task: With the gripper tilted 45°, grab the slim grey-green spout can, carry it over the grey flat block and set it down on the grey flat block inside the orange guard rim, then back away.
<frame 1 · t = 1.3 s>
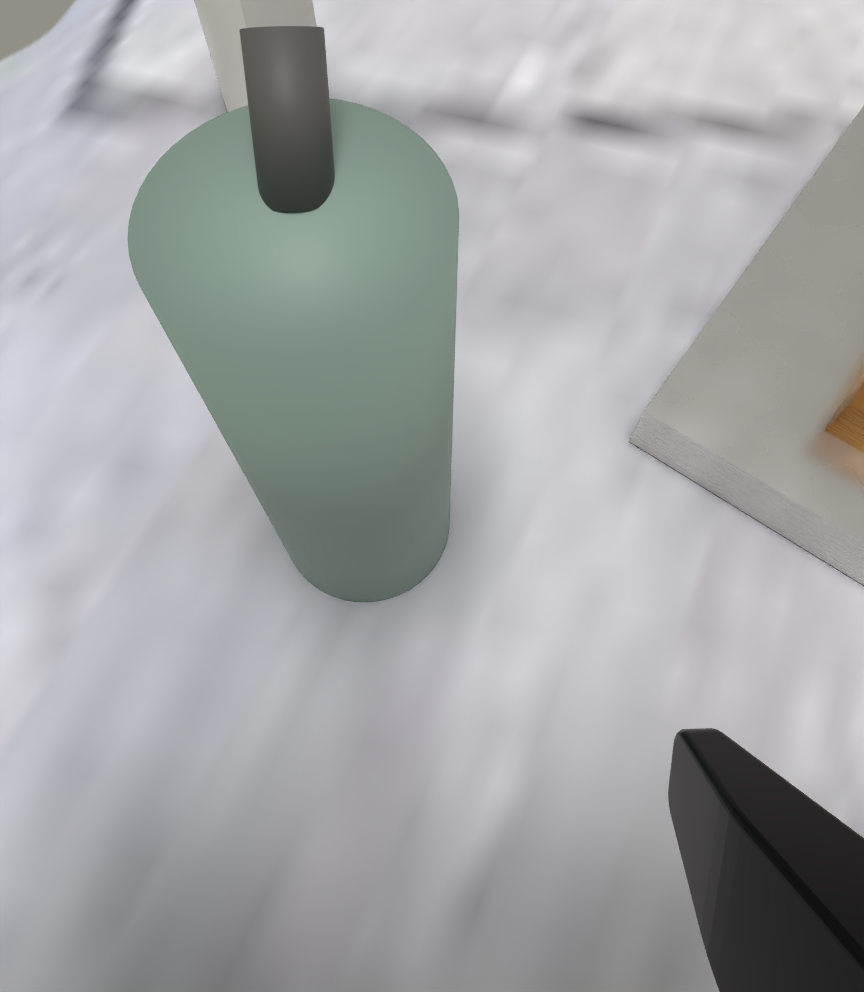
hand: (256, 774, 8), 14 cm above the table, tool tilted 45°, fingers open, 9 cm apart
eye dropper bottle: (279, 122, 31), on the table
spout can: (367, 521, 24), on the table
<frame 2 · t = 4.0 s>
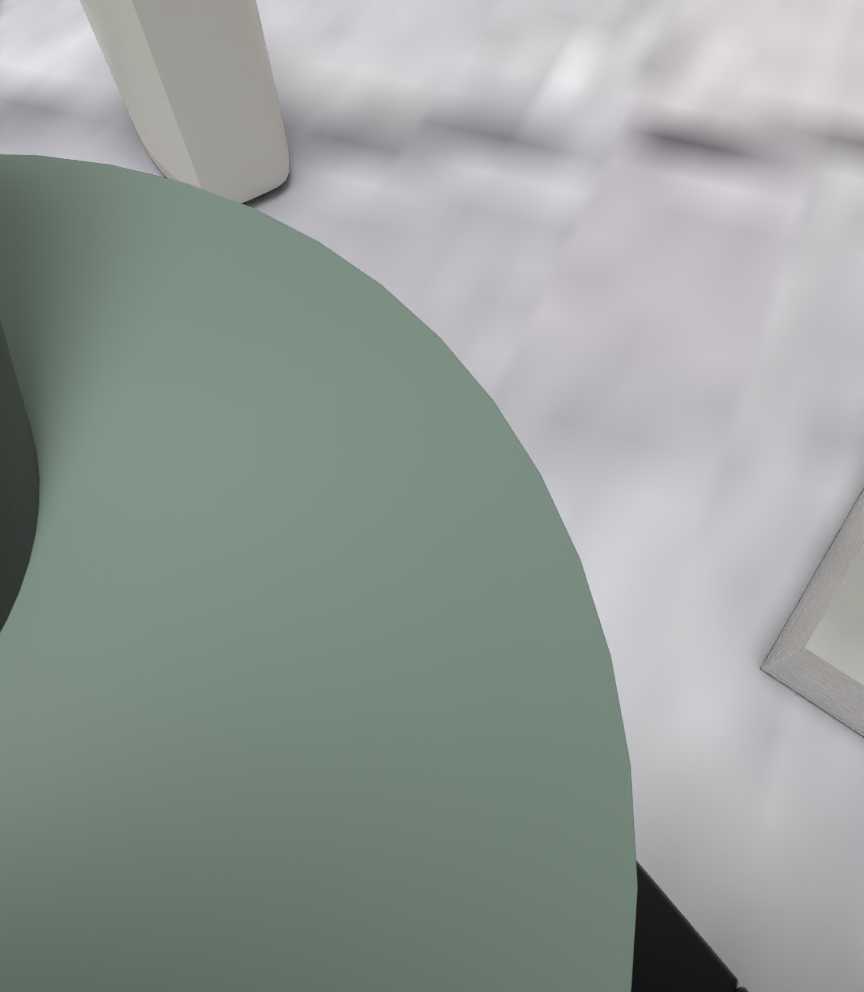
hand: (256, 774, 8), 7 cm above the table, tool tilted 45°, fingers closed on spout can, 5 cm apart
eye dropper bottle: (213, 141, 21), on the table
spout can: (332, 817, 14), on the table, touching gripper
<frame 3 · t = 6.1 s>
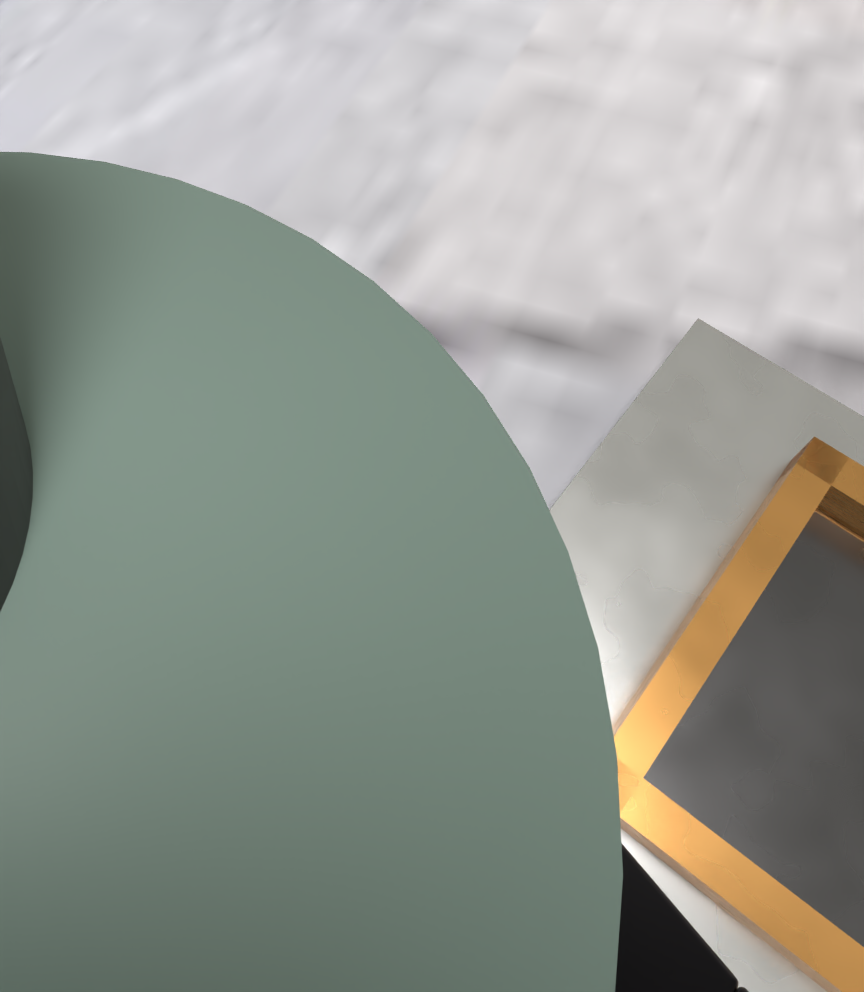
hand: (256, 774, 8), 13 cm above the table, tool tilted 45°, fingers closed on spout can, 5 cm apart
grey flat block: (844, 753, 21), on the table
spout can: (330, 816, 14), point 7 cm above the table, touching gripper
when the fingers open (10 cm above the table, at t = 8.6 s): spout can drops 1 cm, resting on grey flat block.
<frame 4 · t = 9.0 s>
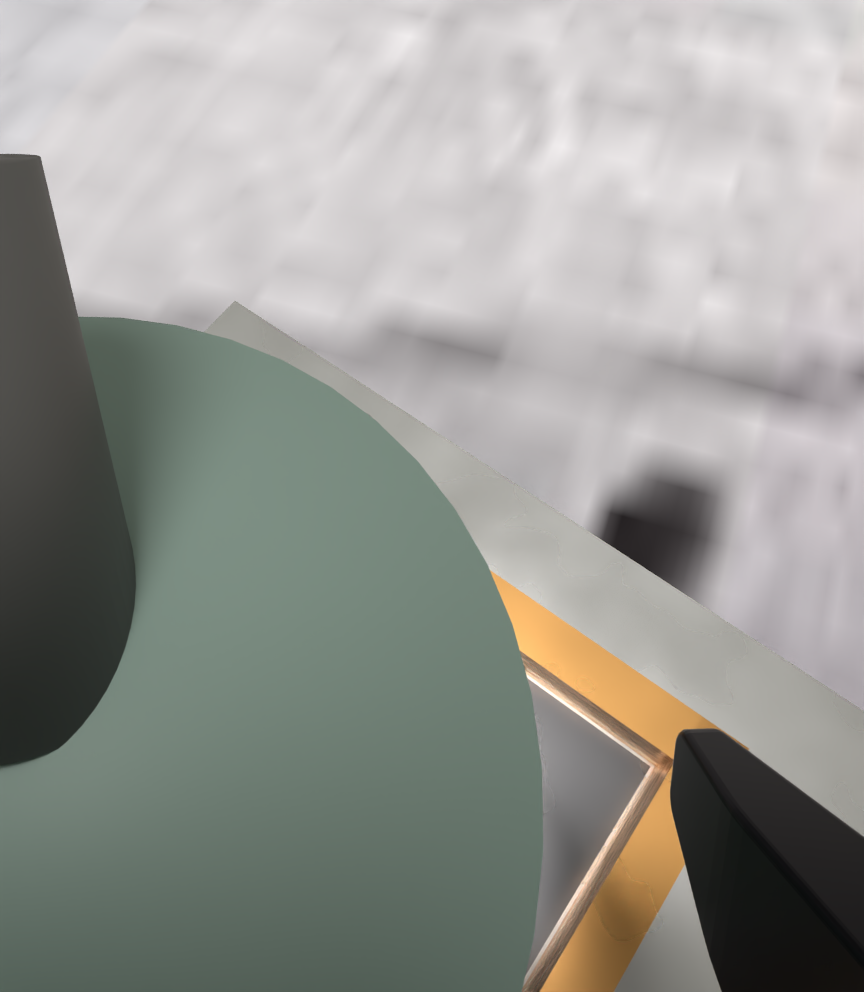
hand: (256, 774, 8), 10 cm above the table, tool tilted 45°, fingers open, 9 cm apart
grey flat block: (352, 817, 18), on the table
spout can: (339, 820, 15), point 2 cm above the table, touching grey flat block
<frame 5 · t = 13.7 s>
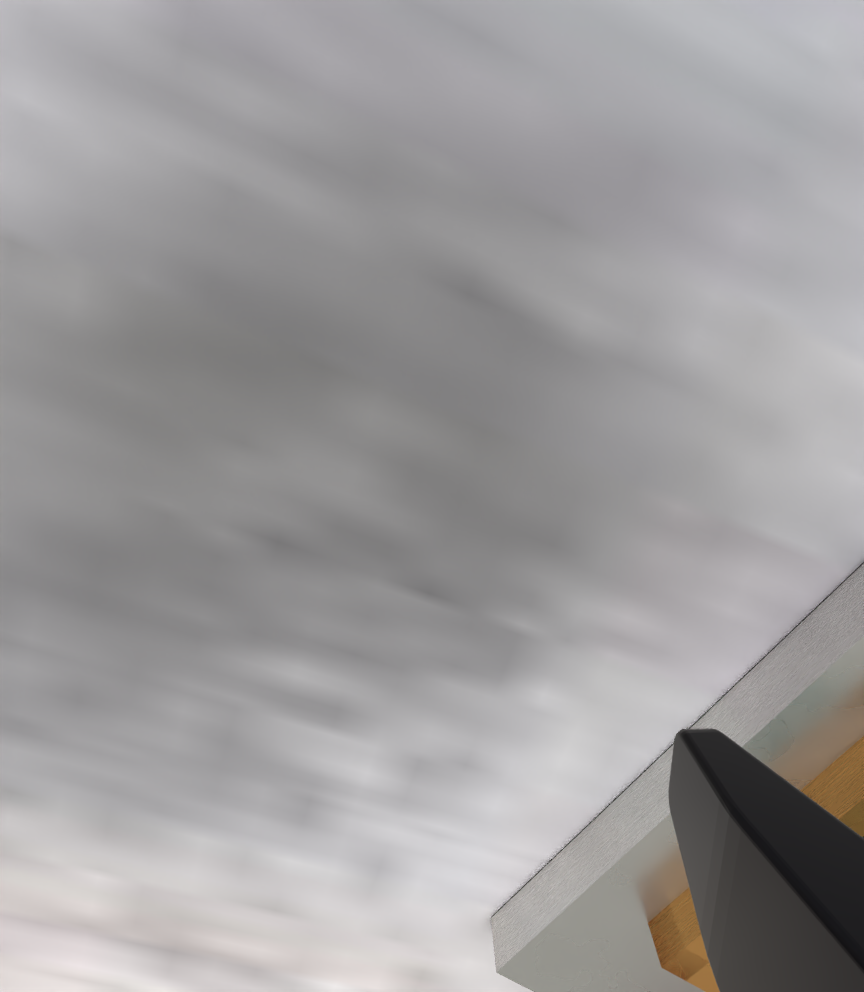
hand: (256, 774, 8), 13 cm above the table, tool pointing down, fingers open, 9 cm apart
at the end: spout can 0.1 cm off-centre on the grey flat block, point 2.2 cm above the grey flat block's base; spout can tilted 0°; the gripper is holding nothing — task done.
